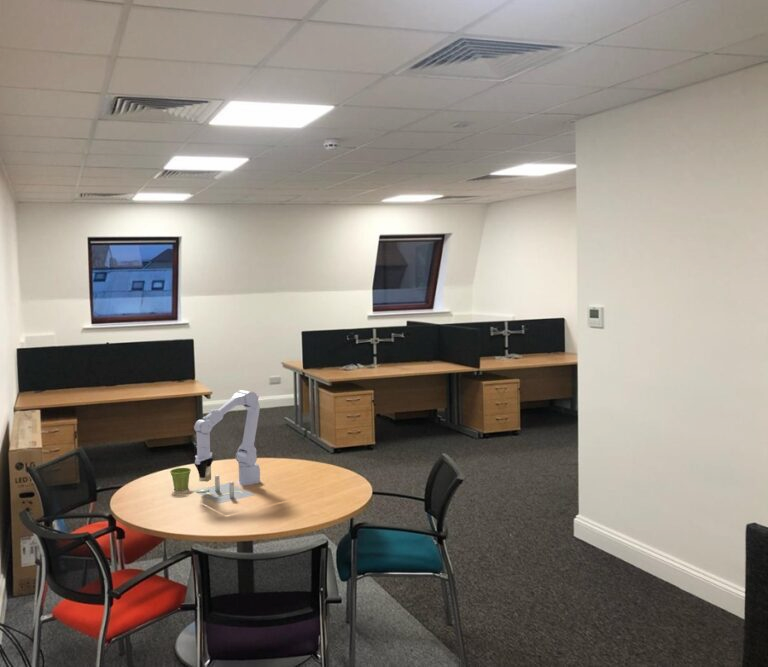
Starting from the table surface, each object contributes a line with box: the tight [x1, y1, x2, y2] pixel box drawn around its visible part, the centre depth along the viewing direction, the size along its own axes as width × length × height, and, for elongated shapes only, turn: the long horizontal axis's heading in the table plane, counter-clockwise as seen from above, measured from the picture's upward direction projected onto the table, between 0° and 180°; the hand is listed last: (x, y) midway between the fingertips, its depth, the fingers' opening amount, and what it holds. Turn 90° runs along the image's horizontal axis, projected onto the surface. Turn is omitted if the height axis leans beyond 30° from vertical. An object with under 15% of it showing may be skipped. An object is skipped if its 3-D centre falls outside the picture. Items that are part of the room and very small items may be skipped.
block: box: [198, 465, 212, 483], centre depth 328 cm, size 4×4×6 cm
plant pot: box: [169, 467, 192, 491], centre depth 336 cm, size 9×9×9 cm
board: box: [193, 474, 256, 504], centre depth 327 cm, size 18×24×8 cm
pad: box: [195, 487, 210, 494], centre depth 330 cm, size 6×6×1 cm
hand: (204, 476), depth 328 cm, fingers closed on block, 4 cm apart
